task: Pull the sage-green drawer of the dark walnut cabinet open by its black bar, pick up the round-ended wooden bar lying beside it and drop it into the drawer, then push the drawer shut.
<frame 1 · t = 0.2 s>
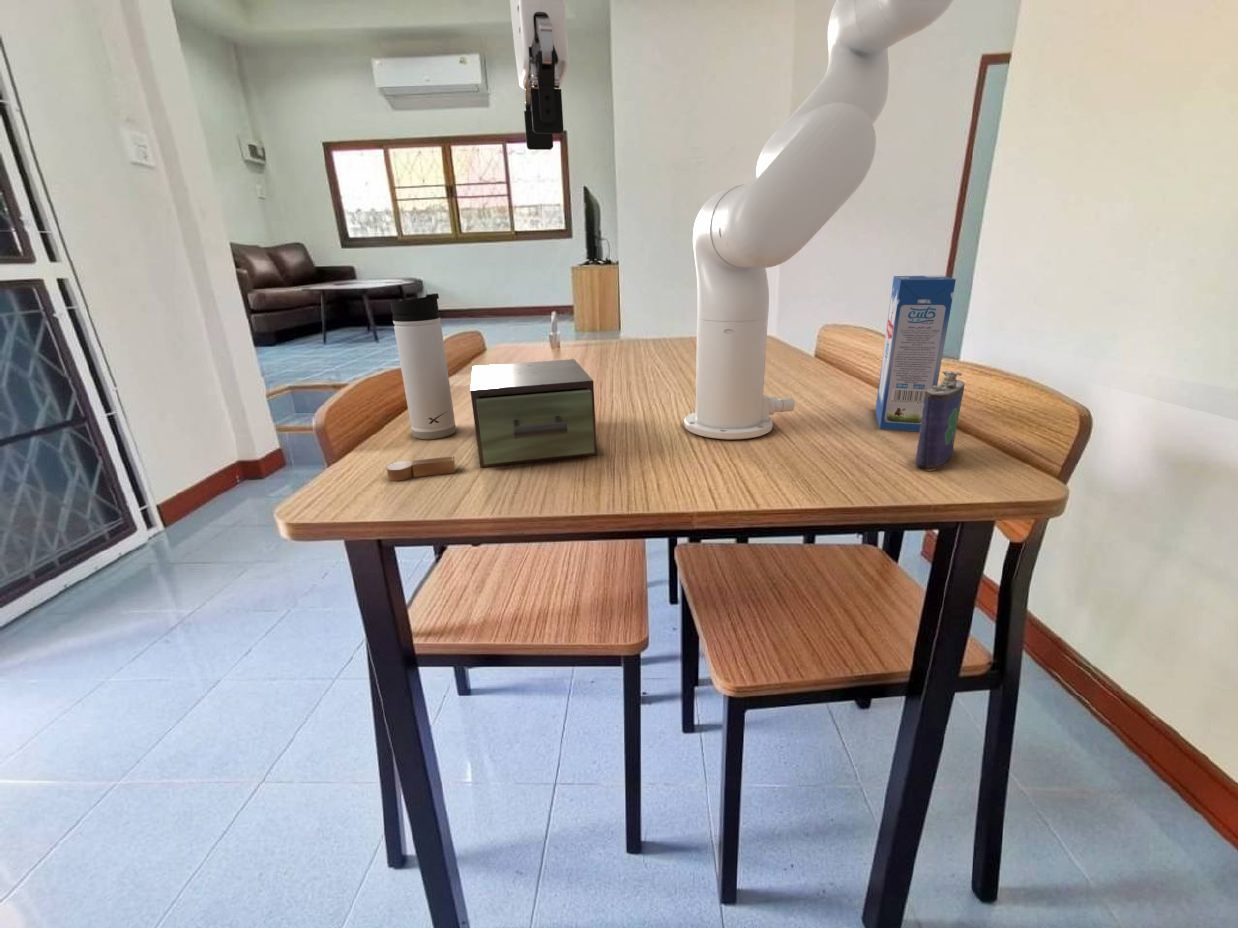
hand: (544, 141, 64), 37 cm above the table, tool pointing down, fingers open, 9 cm apart
drawer: (534, 417, 72), point 5 cm above the table, slide at 0.5 cm
flask: (934, 461, 67), on the table
round-ended wooden bar: (424, 473, 68), on the table
milk carton: (900, 421, 82), on the table
travel mug: (435, 434, 84), on the table
cabinet: (534, 442, 78), on the table
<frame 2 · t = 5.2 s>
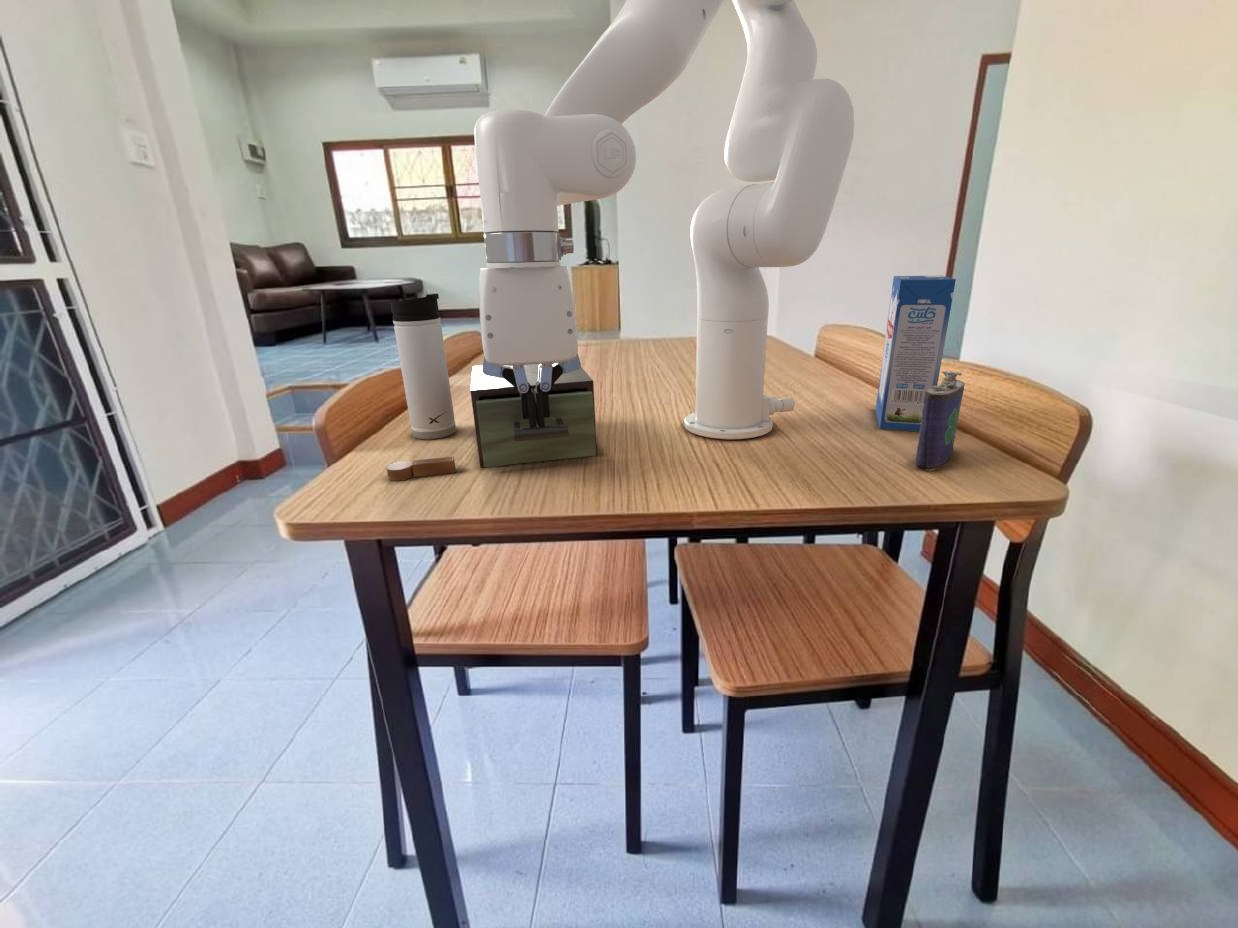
hand: (536, 423, 64), 6 cm above the table, tool pointing down, fingers closed
drawer: (535, 419, 71), point 5 cm above the table, slide at 1.5 cm, touching gripper
everything else where it was.
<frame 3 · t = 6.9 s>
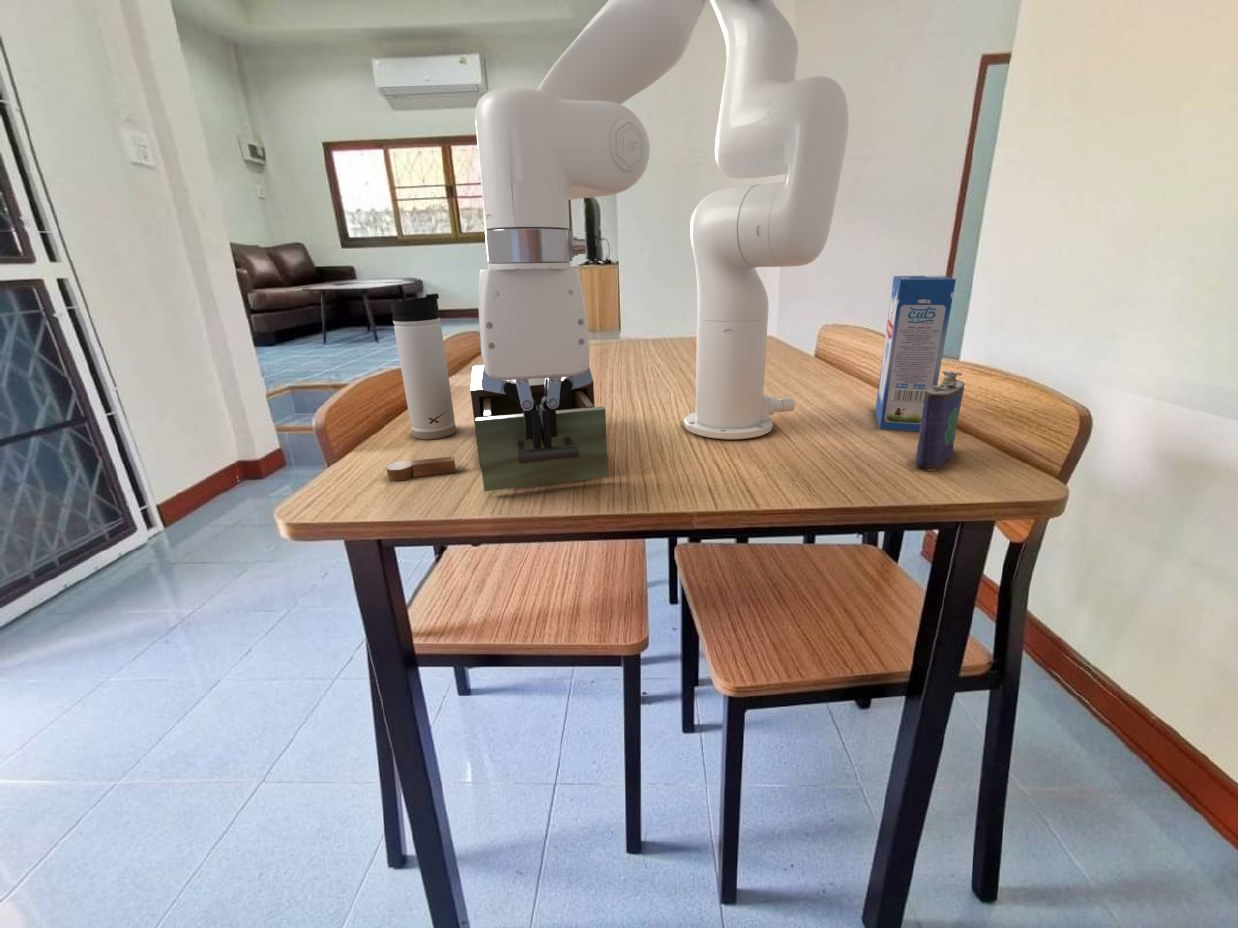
hand: (541, 444, 57), 6 cm above the table, tool pointing down, fingers closed
drawer: (540, 437, 64), point 5 cm above the table, slide at 9.0 cm, touching gripper
everything else where it was.
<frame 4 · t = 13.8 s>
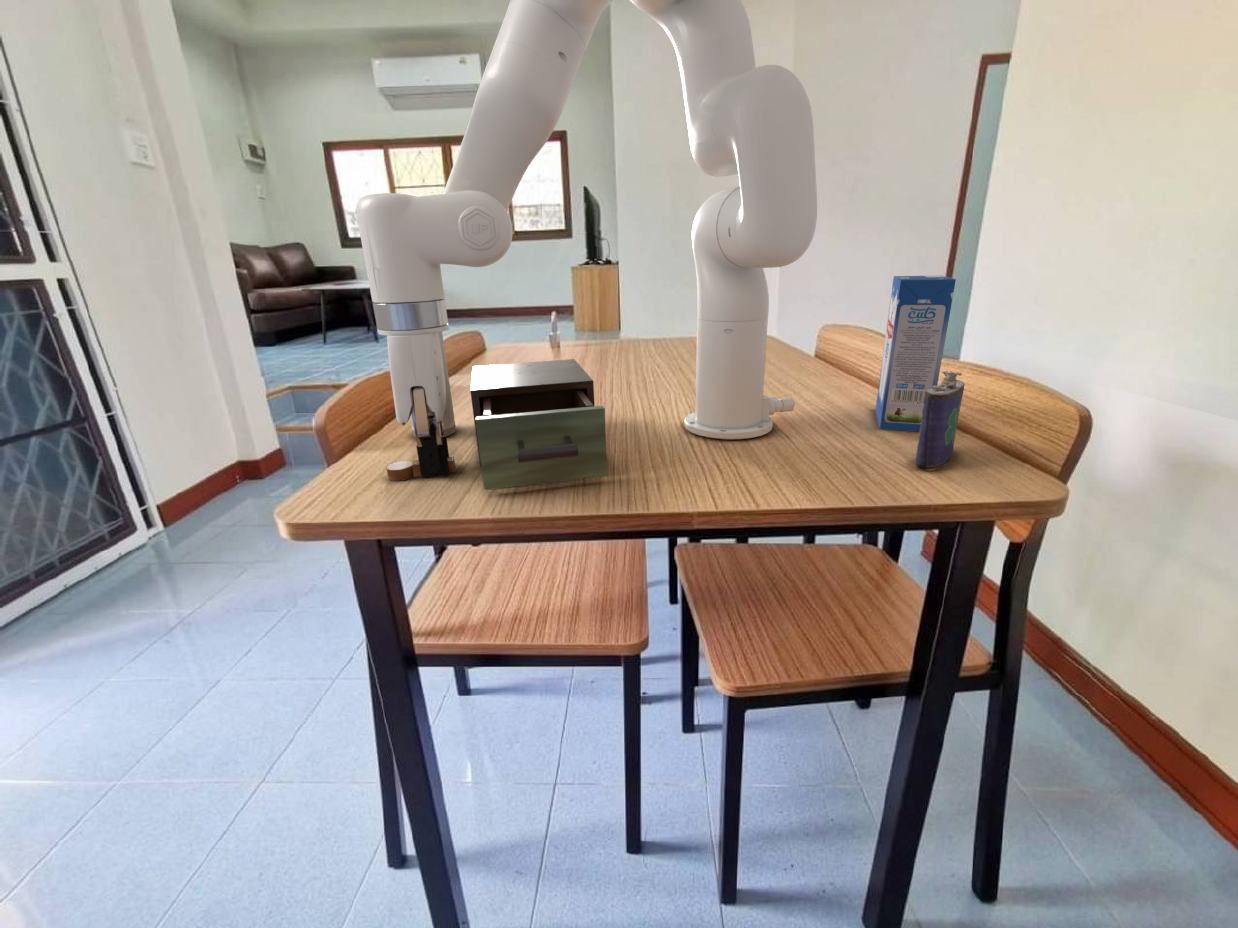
hand: (436, 471, 68), 0 cm above the table, tool pointing down, fingers closed on round-ended wooden bar, 1 cm apart
drawer: (540, 436, 65), point 5 cm above the table, slide at 8.6 cm
round-ended wooden bar: (424, 473, 68), on the table, touching gripper
everything else where it was.
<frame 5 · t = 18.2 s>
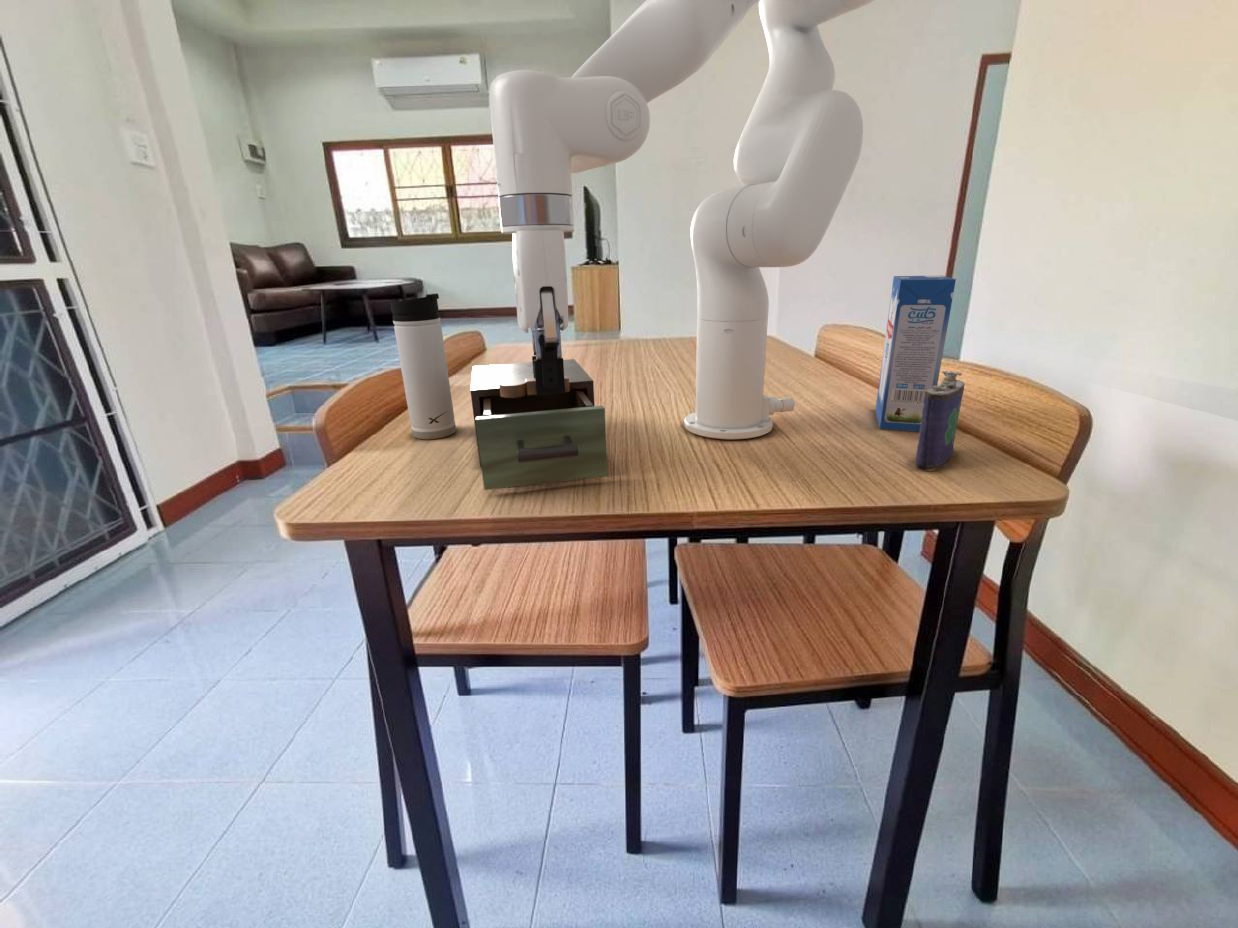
hand: (549, 391, 64), 10 cm above the table, tool pointing down, fingers closed on round-ended wooden bar
round-ended wooden bar: (537, 393, 64), point 10 cm above the table, touching gripper
everything else where it was.
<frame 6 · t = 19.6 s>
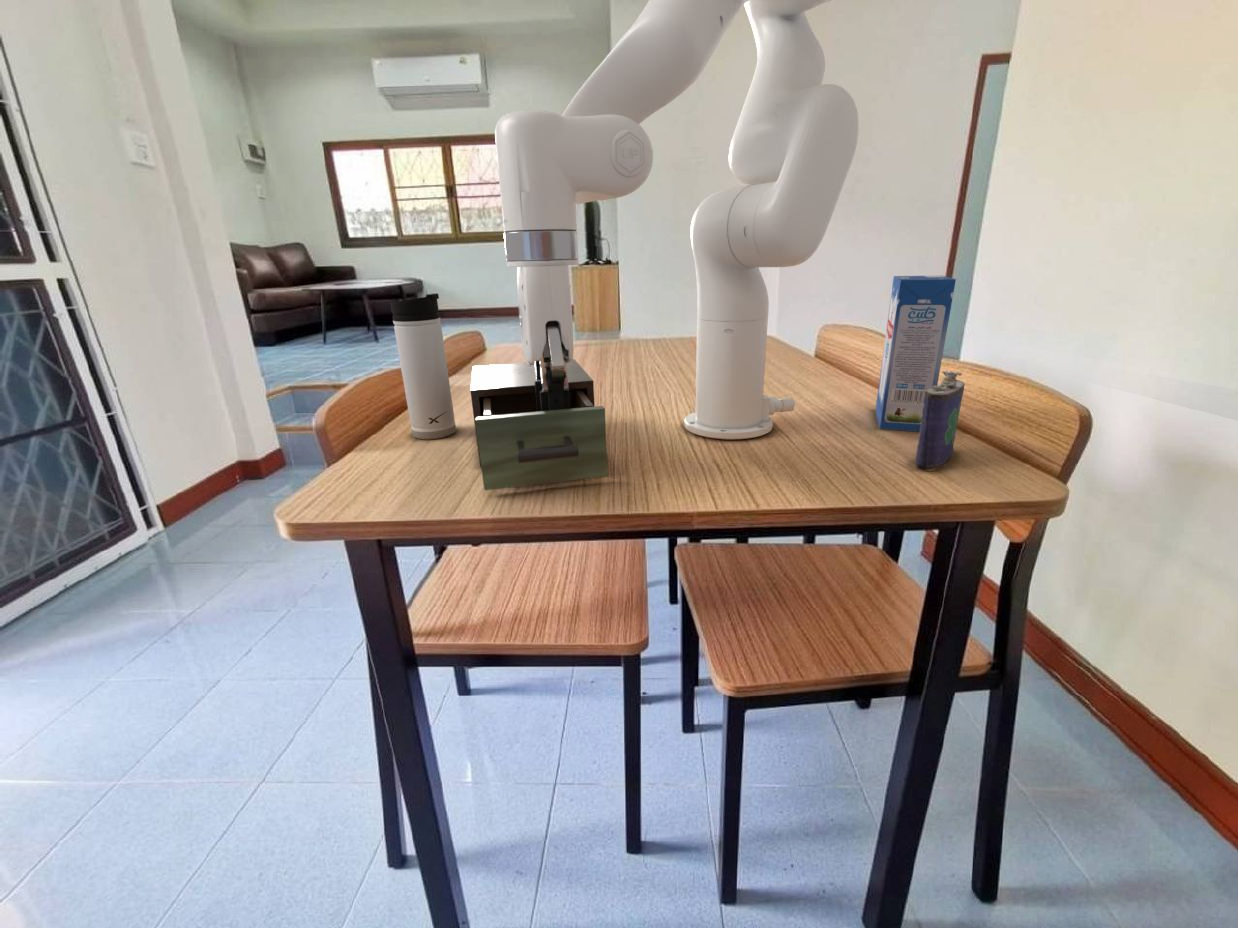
hand: (553, 417, 65), 7 cm above the table, tool pointing down, fingers open, 4 cm apart
drawer: (540, 436, 65), point 5 cm above the table, slide at 8.7 cm, touching gripper, round-ended wooden bar
round-ended wooden bar: (543, 455, 67), point 2 cm above the table, touching drawer
everything else where it was.
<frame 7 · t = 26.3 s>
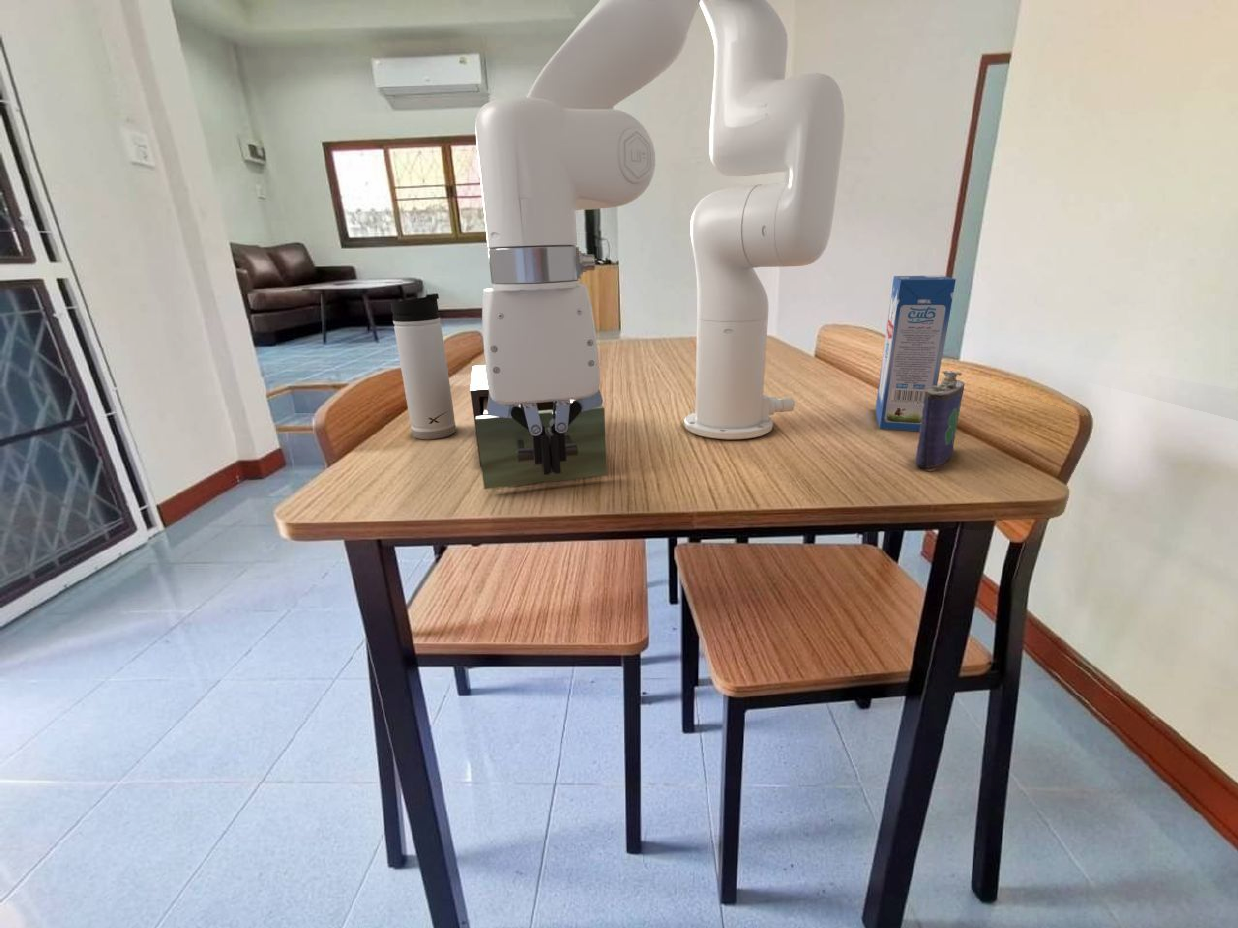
hand: (550, 469, 54), 5 cm above the table, tool pointing down, fingers closed
drawer: (540, 435, 65), point 5 cm above the table, slide at 8.4 cm, touching gripper, round-ended wooden bar
everything else where it was.
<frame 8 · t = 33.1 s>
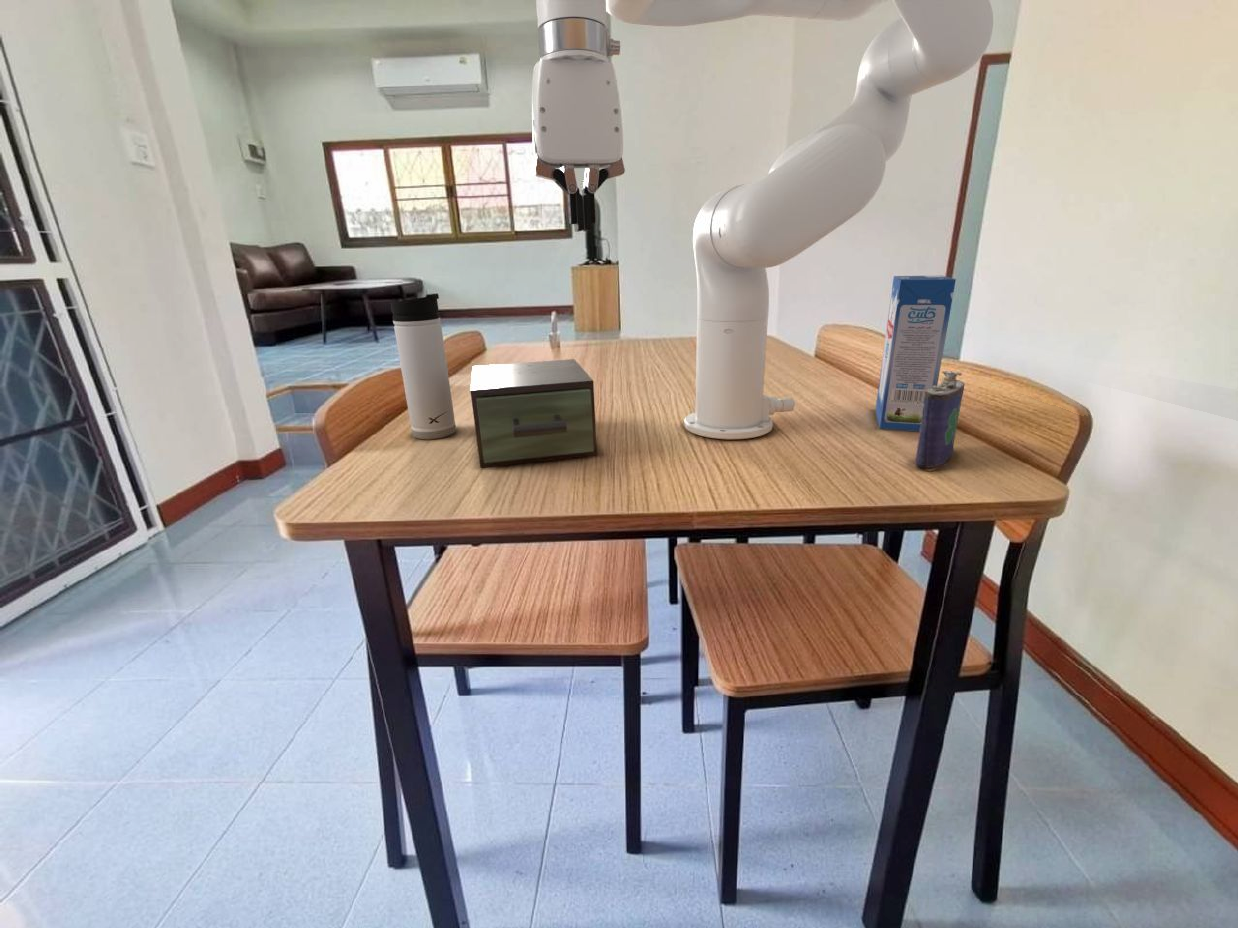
hand: (582, 230, 68), 27 cm above the table, tool pointing down, fingers closed
drawer: (534, 416, 73), point 5 cm above the table, slide at 0.0 cm, touching round-ended wooden bar
round-ended wooden bar: (537, 434, 75), point 2 cm above the table, touching drawer
everything else where it was.
at the end: drawer pulled out 9.0 cm at the most during the clip, back to where it started at the end; round-ended wooden bar inside the target area in the cabinet (3.2 cm from its centre), point 2.1 cm above the cabinet's base; drawer slide at 0.0 cm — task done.
